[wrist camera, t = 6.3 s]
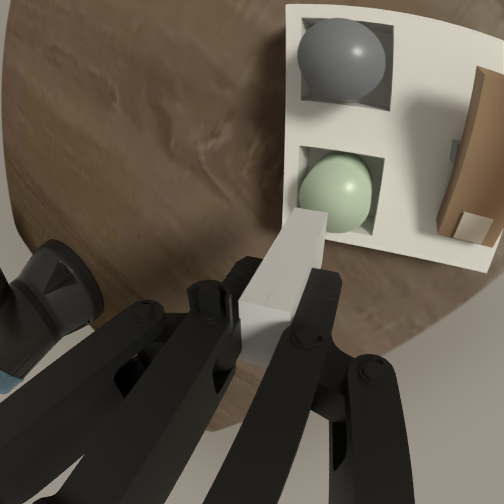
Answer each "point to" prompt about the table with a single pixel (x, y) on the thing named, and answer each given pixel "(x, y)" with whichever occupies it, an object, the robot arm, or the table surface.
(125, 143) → the table surface
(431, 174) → the panel
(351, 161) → the button sage
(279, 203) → the table surface
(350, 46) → the button graphite
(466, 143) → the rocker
